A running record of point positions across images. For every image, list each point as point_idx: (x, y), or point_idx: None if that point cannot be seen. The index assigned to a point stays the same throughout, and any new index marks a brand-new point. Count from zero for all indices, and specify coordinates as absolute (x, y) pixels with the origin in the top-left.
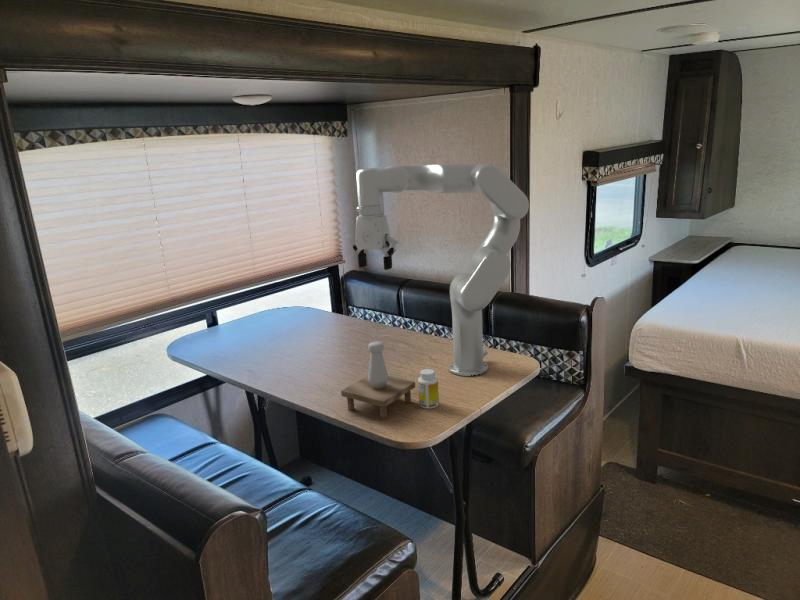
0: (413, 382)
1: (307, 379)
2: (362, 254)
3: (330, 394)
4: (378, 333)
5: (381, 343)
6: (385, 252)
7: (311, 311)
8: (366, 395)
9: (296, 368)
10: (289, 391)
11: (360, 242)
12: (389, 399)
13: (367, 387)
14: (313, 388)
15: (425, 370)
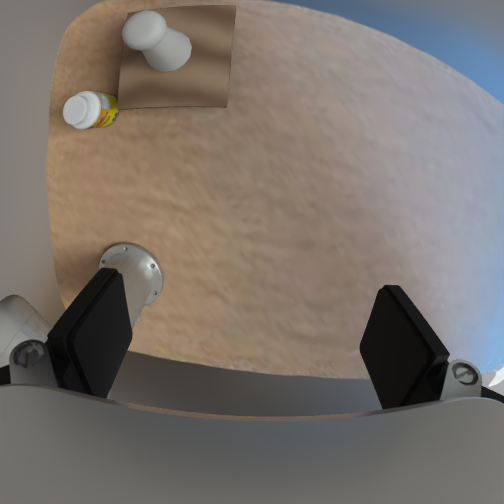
0: (118, 105)
1: (392, 113)
2: (411, 391)
3: (305, 63)
4: None
5: (124, 35)
6: (21, 374)
7: (483, 367)
8: (171, 12)
9: (437, 157)
10: (386, 56)
11: (480, 492)
12: None
13: (191, 38)
14: (355, 78)
15: (79, 112)
